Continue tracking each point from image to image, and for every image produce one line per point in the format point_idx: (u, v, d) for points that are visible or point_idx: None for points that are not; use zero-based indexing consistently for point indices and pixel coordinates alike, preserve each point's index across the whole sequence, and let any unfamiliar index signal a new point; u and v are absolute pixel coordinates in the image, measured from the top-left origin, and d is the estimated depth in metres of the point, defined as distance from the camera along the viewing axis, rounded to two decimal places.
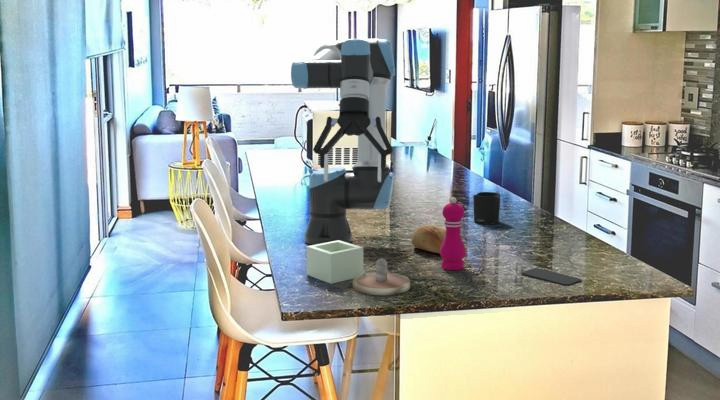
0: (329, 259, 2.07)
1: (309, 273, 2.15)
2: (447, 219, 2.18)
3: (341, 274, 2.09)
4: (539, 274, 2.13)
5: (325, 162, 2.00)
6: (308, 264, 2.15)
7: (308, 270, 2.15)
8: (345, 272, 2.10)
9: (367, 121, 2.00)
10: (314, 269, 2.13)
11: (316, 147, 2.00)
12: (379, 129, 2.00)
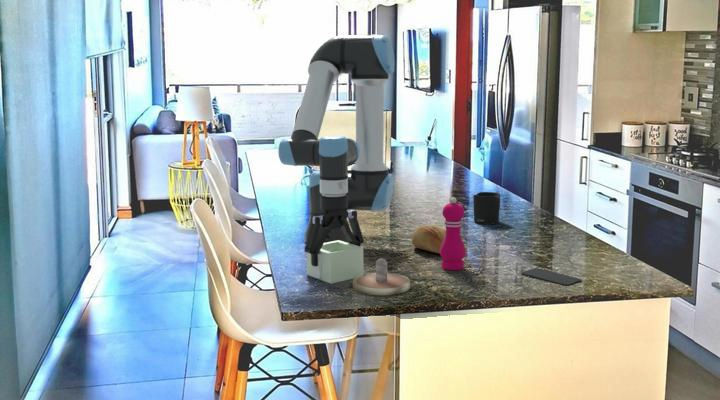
0: (329, 259, 2.07)
1: (309, 273, 2.15)
2: (447, 219, 2.18)
3: (341, 274, 2.09)
4: (539, 274, 2.13)
5: (320, 262, 2.09)
6: (308, 264, 2.15)
7: (308, 270, 2.15)
8: (345, 272, 2.10)
9: (347, 215, 2.13)
10: None
11: (312, 249, 2.07)
12: (355, 222, 2.15)
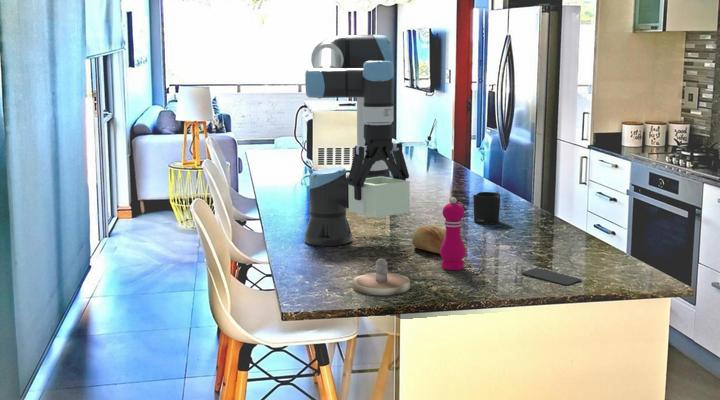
0: (374, 191, 1.93)
1: (351, 209, 2.01)
2: (447, 219, 2.18)
3: (386, 208, 1.95)
4: (539, 274, 2.13)
5: (364, 195, 1.96)
6: (350, 199, 2.01)
7: (350, 206, 2.01)
8: (390, 206, 1.96)
9: (392, 146, 1.99)
10: None
11: (355, 181, 1.93)
12: (400, 155, 2.01)
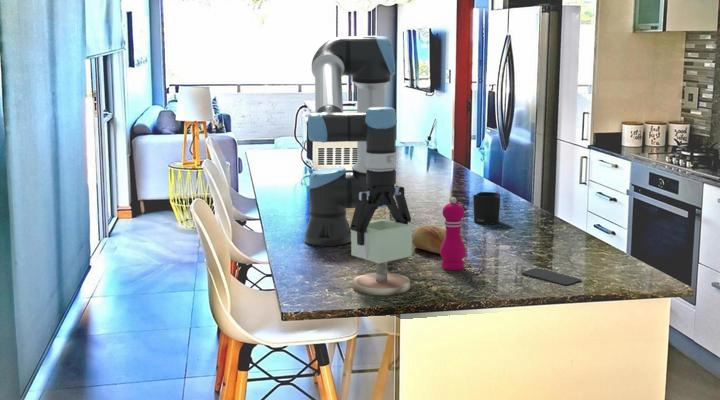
0: (377, 237, 1.95)
1: (354, 253, 2.03)
2: (447, 219, 2.18)
3: (389, 253, 1.97)
4: (539, 274, 2.13)
5: (366, 241, 1.97)
6: (353, 243, 2.03)
7: (353, 250, 2.03)
8: (393, 251, 1.98)
9: (394, 191, 2.01)
10: None
11: (358, 227, 1.95)
12: (403, 199, 2.03)
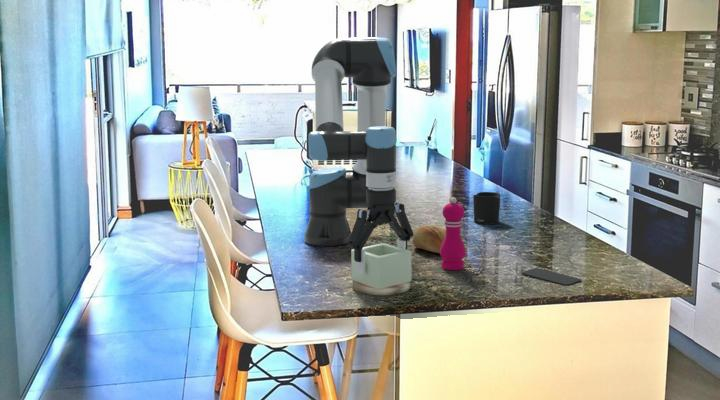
0: (377, 263, 1.96)
1: (354, 278, 2.04)
2: (447, 219, 2.18)
3: (389, 278, 1.98)
4: (539, 274, 2.13)
5: (363, 257, 1.98)
6: (353, 268, 2.04)
7: (353, 275, 2.04)
8: (393, 277, 1.99)
9: (394, 210, 2.02)
10: (359, 274, 2.02)
11: (355, 244, 1.96)
12: (403, 216, 2.04)
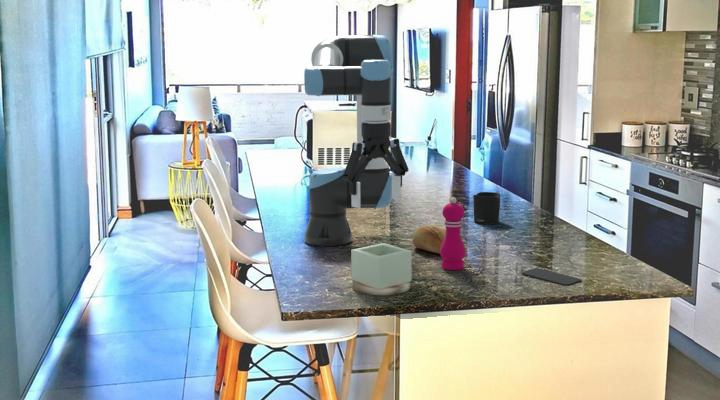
0: (377, 263, 1.96)
1: (354, 278, 2.04)
2: (447, 219, 2.18)
3: (389, 278, 1.98)
4: (539, 274, 2.13)
5: (359, 190, 1.98)
6: (353, 268, 2.04)
7: (353, 275, 2.04)
8: (393, 277, 1.99)
9: (389, 144, 2.03)
10: (359, 274, 2.02)
11: (351, 176, 1.96)
12: (398, 151, 2.05)
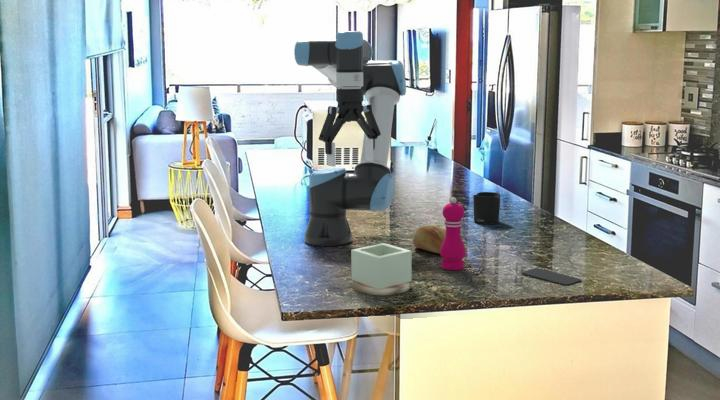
0: (377, 263, 1.96)
1: (354, 278, 2.04)
2: (447, 219, 2.18)
3: (389, 278, 1.98)
4: (539, 274, 2.13)
5: (333, 150, 2.17)
6: (353, 268, 2.04)
7: (353, 275, 2.04)
8: (393, 277, 1.99)
9: (362, 109, 2.22)
10: (359, 274, 2.02)
11: (326, 137, 2.15)
12: (371, 116, 2.24)
